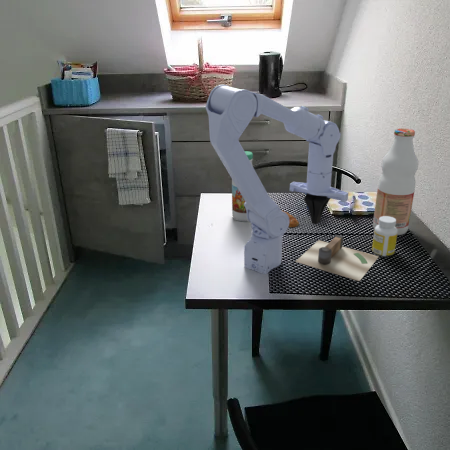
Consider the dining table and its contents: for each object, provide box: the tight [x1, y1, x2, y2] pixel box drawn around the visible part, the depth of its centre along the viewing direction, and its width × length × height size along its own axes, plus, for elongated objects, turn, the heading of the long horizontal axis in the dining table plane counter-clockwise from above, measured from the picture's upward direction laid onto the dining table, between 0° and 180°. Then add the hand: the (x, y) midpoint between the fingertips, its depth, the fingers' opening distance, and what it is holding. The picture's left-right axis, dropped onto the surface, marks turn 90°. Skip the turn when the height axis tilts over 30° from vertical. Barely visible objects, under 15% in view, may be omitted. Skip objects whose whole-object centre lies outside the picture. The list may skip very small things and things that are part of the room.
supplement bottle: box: [371, 216, 398, 257], centre depth 109 cm, size 5×5×10 cm
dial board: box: [295, 239, 380, 282], centre depth 108 cm, size 14×16×1 cm
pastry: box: [282, 210, 300, 228], centre depth 128 cm, size 9×7×4 cm
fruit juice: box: [372, 127, 419, 236], centre depth 118 cm, size 9×9×28 cm
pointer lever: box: [318, 234, 344, 264], centre depth 108 cm, size 11×3×3 cm, turn 145°
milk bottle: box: [231, 150, 254, 222], centre depth 130 cm, size 8×8×20 cm
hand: (315, 222), depth 111 cm, fingers closed
